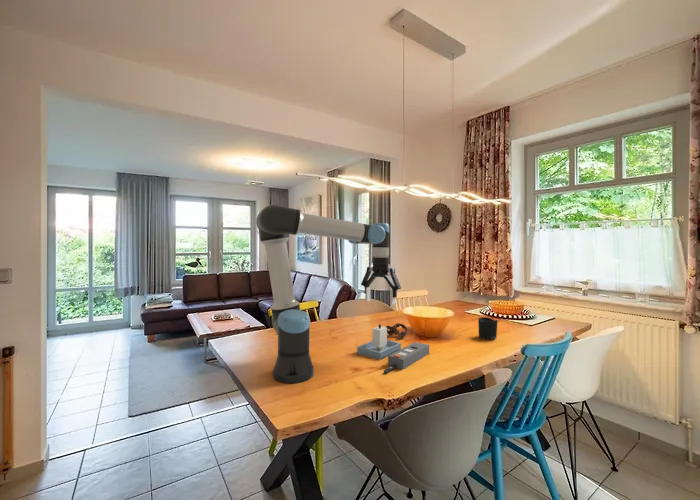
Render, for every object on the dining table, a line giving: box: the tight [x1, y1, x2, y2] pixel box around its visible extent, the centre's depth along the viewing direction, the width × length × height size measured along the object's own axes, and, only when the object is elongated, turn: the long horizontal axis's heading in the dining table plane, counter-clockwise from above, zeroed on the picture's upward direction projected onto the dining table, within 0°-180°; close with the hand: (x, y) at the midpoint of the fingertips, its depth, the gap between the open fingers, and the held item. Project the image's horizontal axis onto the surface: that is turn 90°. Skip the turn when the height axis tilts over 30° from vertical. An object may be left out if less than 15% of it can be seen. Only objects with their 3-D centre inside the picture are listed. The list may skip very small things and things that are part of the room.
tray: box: [356, 339, 402, 361], centre depth 146 cm, size 18×13×3 cm
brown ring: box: [385, 322, 408, 340], centre depth 169 cm, size 12×10×8 cm
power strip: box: [383, 341, 430, 375], centre depth 133 cm, size 32×7×5 cm, turn 142°
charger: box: [371, 323, 388, 351], centre depth 146 cm, size 6×4×12 cm, turn 142°
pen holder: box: [477, 316, 498, 340], centre depth 170 cm, size 9×9×10 cm
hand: (380, 302), depth 146 cm, fingers open, 13 cm apart
